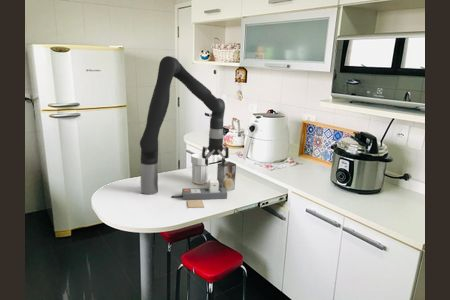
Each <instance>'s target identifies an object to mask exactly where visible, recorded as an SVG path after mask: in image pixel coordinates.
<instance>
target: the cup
mask: <svg viewBox="0 0 450 300" xmlns="http://www.w3.org/2000/svg"><path fill="white" fill-rule="evenodd" d="M206 155H207V153H205V156H206ZM190 158H191V159H190V163H191V165H192V166H191V167H192V169H191V175H192V176H191V180H192V181H191V183H193V185H197V186H203V185H206V184H207V183H208V176H209V175H208V174H209V164H210V158H211V156H210V157H209V158H208V166H206V164H205V159H204V158H202V152H197V153H195V152H194V153H192V154H191V155H190Z"/></svg>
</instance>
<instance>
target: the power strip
mask: <svg viewBox="0 0 450 300" xmlns="http://www.w3.org/2000/svg"><path fill="white" fill-rule="evenodd" d="M181 190H182V192H181V195H171V198H172V199H173V198H178V199H179V198H182V201H187V200H202V201H203V200H204V201H207V200H227V199H228V191H227V192H226V190H225V188H219V189H218V193H209V187H197V188H196V187H191V188H190V187H189V188H187V187H186V188H182V189H181Z"/></svg>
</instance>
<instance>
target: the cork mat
mask: <svg viewBox="0 0 450 300" xmlns="http://www.w3.org/2000/svg"><path fill="white" fill-rule="evenodd" d="M186 201H187V202H186V203H187V207H188V209H198V208H199V209H201V208H202V209H203V208H205V204H204V201H203V200H186Z"/></svg>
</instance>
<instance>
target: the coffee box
mask: <svg viewBox="0 0 450 300" xmlns="http://www.w3.org/2000/svg"><path fill="white" fill-rule="evenodd" d="M236 170H237V164H236V163H234V162H232V161H225V164H224V165H223V166H222V162H219V163H217V172H216V174H217V175H216V180H218V182H219V188H225V190H226V192H227V193H228V192H229V191H233V190H235V187H236V174H237V173H236V172H237V171H236Z"/></svg>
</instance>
